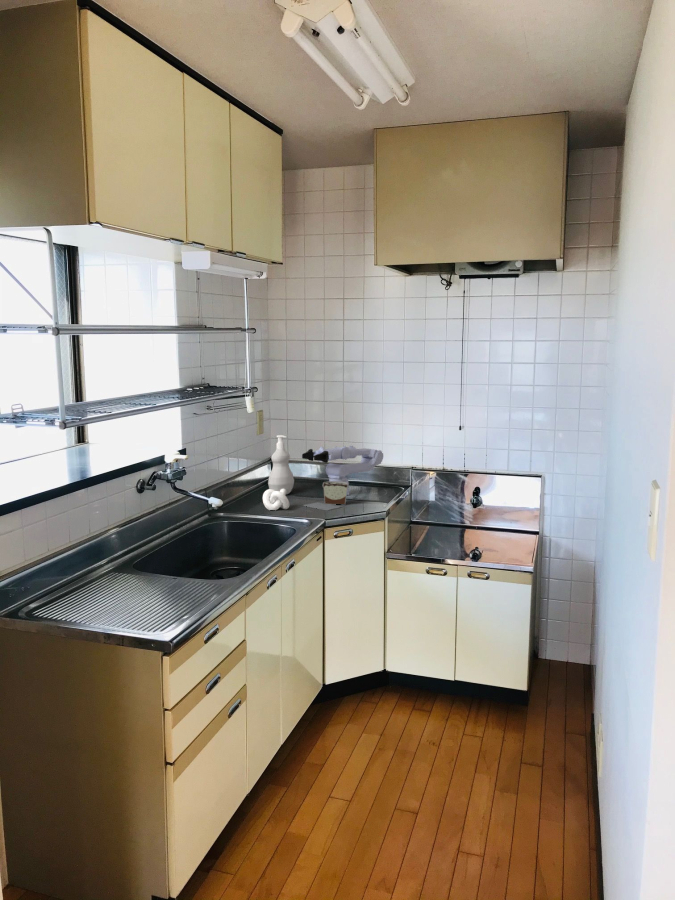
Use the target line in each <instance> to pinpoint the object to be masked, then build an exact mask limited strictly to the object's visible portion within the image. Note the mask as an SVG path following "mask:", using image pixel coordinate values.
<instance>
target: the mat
mask: <svg viewBox="0 0 675 900" xmlns="http://www.w3.org/2000/svg"><path fill="white" fill-rule="evenodd" d="M302 506H303V507H306V506H307V508H312V509H316V508H317V510H323V511H327V512H328V511H332V510H336V509H341V508H340V506H341V505H331V504H325V502H318V501H317V502H312V503H307V504H303V505H302Z"/></svg>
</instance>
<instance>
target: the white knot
mask: <svg viewBox="0 0 675 900" xmlns="http://www.w3.org/2000/svg"><path fill="white" fill-rule="evenodd" d="M286 495H287V494H286V490H285V489H281V490H280V491H275V490H273V489H269V488H268V489H266V490H265V491H264V492H263V493H262V502H263V505H264V507H265V508H266V509H267V510H268V511H270V510H275V511H277V510H279V508H281V509H283V510H288V509H289V507H290V501H289V499H288V496H286Z"/></svg>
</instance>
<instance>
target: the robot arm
mask: <svg viewBox="0 0 675 900" xmlns="http://www.w3.org/2000/svg"><path fill="white" fill-rule="evenodd" d="M382 452H383V451H382V450H380V449H379V450H377V449H373V448H365V447H364V448H356V447H355V446H354V445H349V446H346V445H345V446H344V445H343V446H342V447H341V446H335V447H331V448H324V447H323V446H320V447H319V449H317V450H313V448H309V449H308V450H307V451H306V452H304V453H302V455H301V459H304V460H308V461H310V462H314V461H318V462H319V463H324V464H326V466H325V474H326V475H327V477H328V479H329V480H328V481H339V482H346V483H348V486H349V488H348V487H347V495H346V496H349V495H350V494H351V493H350V490H349V489H350V485H349V484H350V481H349V478H348V477H346V476H349V475H350V474H358V473H364V472H365V473H366V472H371V470H373V469H374V468H375V467H376V466H378V465H381V464H382V462H383V459H384V452H383V453H382ZM357 456H361V460H360V462H354V463H345V464H339V463H332V462H330V463H328V462H329V461H336V460H347V459H355V458H357ZM327 463H328V464H327Z"/></svg>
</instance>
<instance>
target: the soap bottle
mask: <svg viewBox="0 0 675 900" xmlns="http://www.w3.org/2000/svg"><path fill="white" fill-rule="evenodd" d="M275 437H276V438H277V442H276V448H275V451H274V452H273V453H272V455H271V461H272V469H271V470H270V474H269V475H268V481H267V484H268V489H273V490H275V491H280V490H281V489H285V490H286V495H288V494H290V493H291V492H292V491H293V488H294V483H295V478H294V475H293V472H292V469H291V468H290V466H289V462H290V457H291V456H290V454H289V452H288V451H286V449H285V442H284V441H283V438H284V439H285V438H288V437H287V436H286V435H283V434H278V435H276V436H275Z"/></svg>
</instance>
